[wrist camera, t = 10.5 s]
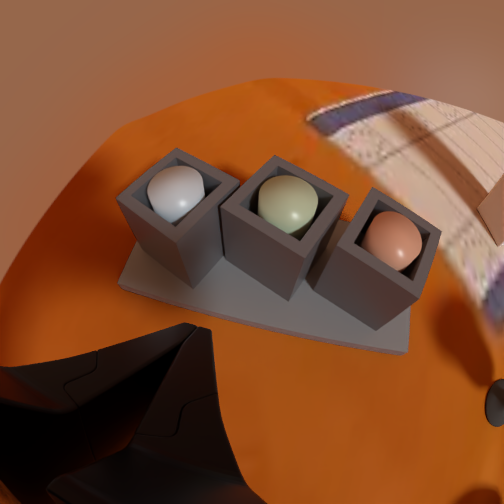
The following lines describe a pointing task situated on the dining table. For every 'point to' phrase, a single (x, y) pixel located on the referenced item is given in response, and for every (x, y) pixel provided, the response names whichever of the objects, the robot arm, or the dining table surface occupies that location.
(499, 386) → the sundae
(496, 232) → the milk
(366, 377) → the dining table surface
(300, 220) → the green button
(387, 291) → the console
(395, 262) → the salmon orange ball
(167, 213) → the white rounded dome
